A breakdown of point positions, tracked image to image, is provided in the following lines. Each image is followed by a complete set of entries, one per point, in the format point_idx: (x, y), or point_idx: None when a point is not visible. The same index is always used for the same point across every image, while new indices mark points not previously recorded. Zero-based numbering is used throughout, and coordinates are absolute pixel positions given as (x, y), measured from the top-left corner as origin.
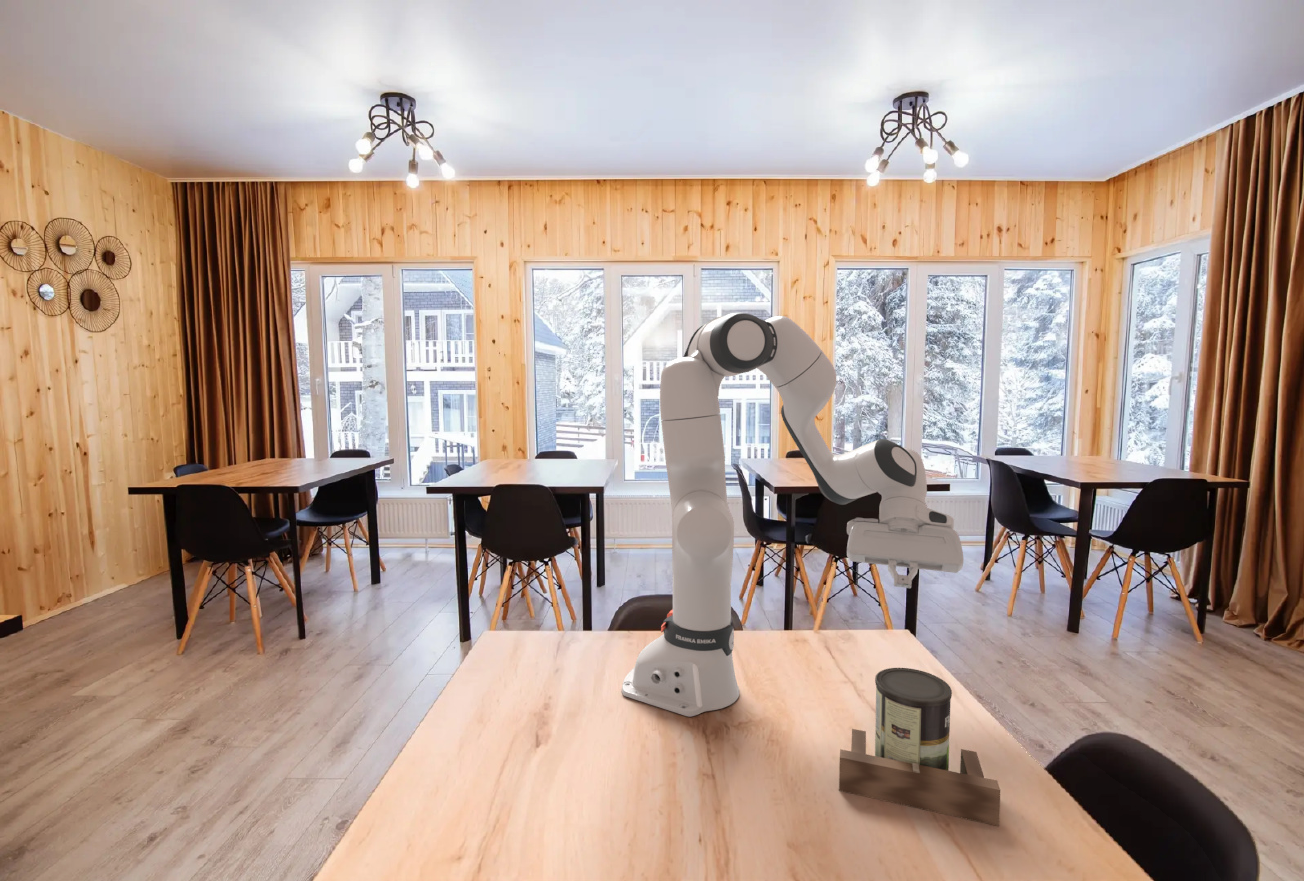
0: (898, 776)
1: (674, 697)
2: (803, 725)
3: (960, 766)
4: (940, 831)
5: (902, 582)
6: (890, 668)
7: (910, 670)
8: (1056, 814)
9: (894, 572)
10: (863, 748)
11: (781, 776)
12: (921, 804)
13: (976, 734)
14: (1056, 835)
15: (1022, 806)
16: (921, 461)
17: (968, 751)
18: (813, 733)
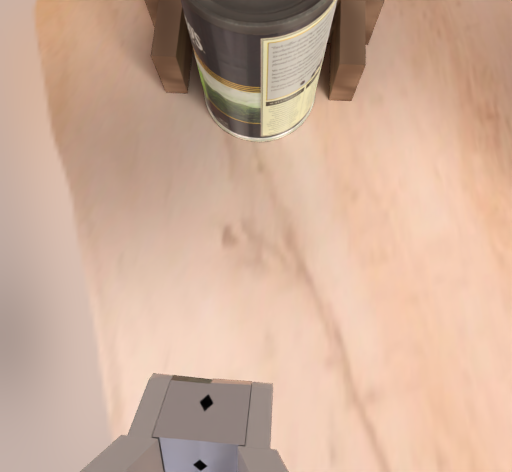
0: None
1: None
2: (443, 178)
3: (182, 75)
4: None
5: (214, 384)
6: (307, 10)
7: (253, 16)
8: (73, 61)
9: (270, 462)
10: (344, 14)
11: (454, 33)
12: None
13: (119, 239)
14: (92, 22)
15: (113, 64)
16: None
17: (164, 54)
18: (421, 157)
